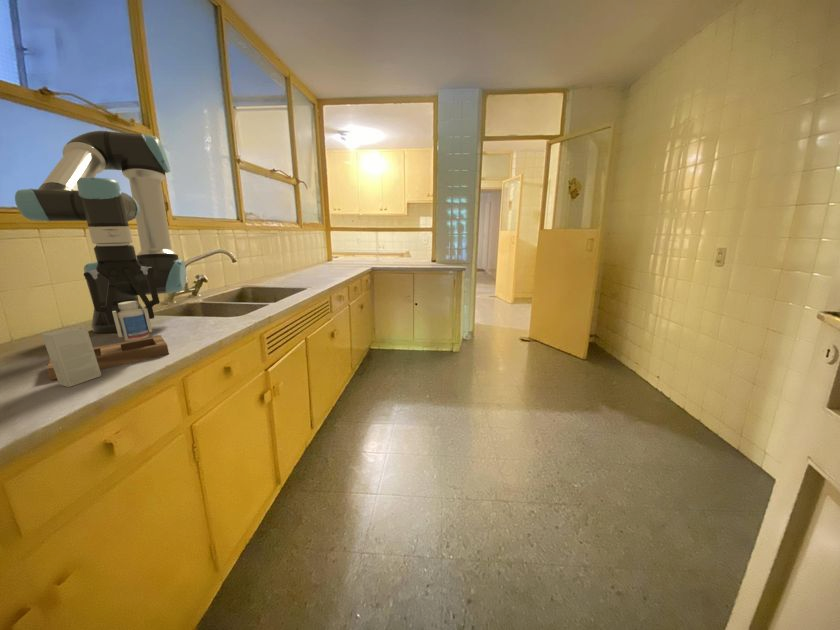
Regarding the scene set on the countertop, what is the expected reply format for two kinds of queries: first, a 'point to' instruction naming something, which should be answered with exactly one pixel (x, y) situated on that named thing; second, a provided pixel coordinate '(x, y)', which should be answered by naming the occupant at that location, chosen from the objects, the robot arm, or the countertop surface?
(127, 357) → the socket block
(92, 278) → the robot arm
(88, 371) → the skincare box
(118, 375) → the countertop surface
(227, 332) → the countertop surface
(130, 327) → the pill bottle
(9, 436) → the countertop surface
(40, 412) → the countertop surface
